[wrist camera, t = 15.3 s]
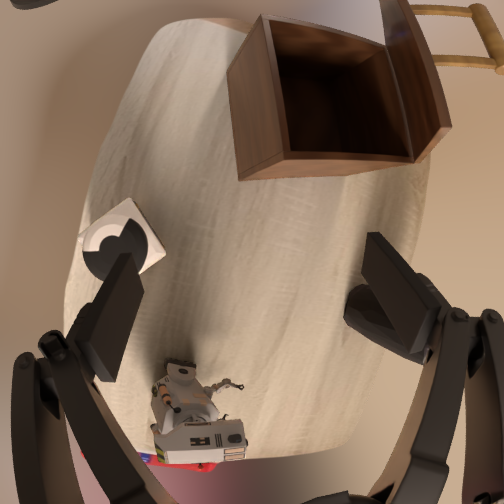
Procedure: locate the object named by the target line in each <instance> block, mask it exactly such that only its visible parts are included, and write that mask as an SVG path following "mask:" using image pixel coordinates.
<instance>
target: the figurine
mask: <svg viewBox="0 0 504 504" xmlns="http://www.w3.org/2000/svg"><path fill="white" fill-rule="evenodd" d="M164 366H165V368H166V369H167V372H168V375H166V376H165V377H163V378H162V379H160V380H159V381H157V382H155V386H154V385H153V388H152V393H153V396H152V401H151V407H152V410H153V412H154V415H155V418H156V421H157V424H152V425H151V426H150V427H151V430H152V431H153V434H154V443H155V448H156V452H157V457H158V461H159V462H162V463H165V464H187V463H191V464H199V466H198V469H199V470H202V469H203V468H204V467H203V466H202V465H201V463H209V462H220V461H230V460H239V459H246V447H247V446H248V441H247V439H245V433H244V427H243V422H242V421H241V420H240V419H235V420H231V419H230V420H225V417H226V415H227V414H225V415H224V417H223V418H222V419H218V416H219V413H220V412H219V411H218V409H217V408H216V406H215V405H214V403H213V402H212V401H211V398H212V393H213V392H215V391H216V393H220V392H221V390H222V389H224V388H229V387H234V388H235V387H236V388H239V389H240V390H243V388H244V386H243V384H242V385H235V384H234V383H231V380H230V379H228V378H226V379H223V380H222V382H220V383H218V384H217V385H216V384H213V385H212V386H211V387H208V386H206V387H204V388H203V387H202V386H201V384H200V383H199V382H198V381H197V379H196V378H195V375H196V364H194V363H191V362H190V363H188V362H186V361H184V362H183V361H179V360H173V359H168V358H166V361H165V365H164ZM241 386H243V388H240V387H241ZM217 419H218V420H217Z"/></svg>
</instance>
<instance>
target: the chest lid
mask: <svg viewBox="0 0 504 504" xmlns="http://www.w3.org/2000/svg"><path fill="white" fill-rule="evenodd" d="M379 1H380V7H381V13H382V20H383V27H384V35H385V43H386V48H387V50H388V53H389V56H390V60H391V63H392V66H393V69H394V73H395V76H396V80H397V83H398V87H399V91H400V94H401V98H402V103H403V107H404V111H405V116H406V120H407V125H408V130H409V135H410V141H411V147H412V153H413V159H414V163H420V162H421V161H422V160H423V159H424V158H425V157H426V156H427V155H428V154H429V153H430V152H431V150H432V149H433V148H434V147H435V146H436V145H437V144H438V143H439V142H440V140H441V139H442V138H443V137H444V136H445V135H446V134H447V133H448V132H449V130H450V129H451V128H452V124H451V119H450V115H449V111H448V107H447V103H446V99H445V96H444V92H443V88H442V85H441V82H440V79H439V76H438V72H437V69H436V66H460V67H476V68H477V67H478V68H488V69H494V70H495V72H496V73H497V74H499V75H504V40H503V38H502V36H501V34H500V32H499V30H498V28H497V26H496V24H495V22H494V20H493V18H492V17H491V15H490V13H489V11H488V9H487V8H486V7H485V6H484V5H482V4H477V3H476V4H472V5H470V6H469V7H468V8H466V7H456V6H444V5H410V4H409V3H408V1H407V0H379ZM415 15H449V16H461V17H471V18H472V20H473V22H474V24H475V26H476V28H477V30H478V32H479V34H480V36H481V39H482V41H483V43H484V45H485V47H486V50H487V52H488V55H489V57H490V58H485V57H475V56H460V55H431V52H430V50H429V47H428V45H427V42H426V40H425V37H424V35H423V32H422V30H421V28H420V25H419V23H418V21H417V19H416V17H415Z"/></svg>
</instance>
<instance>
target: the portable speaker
mask: <svg viewBox="0 0 504 504" xmlns="http://www.w3.org/2000/svg"><path fill="white" fill-rule="evenodd" d="M349 294H350V298H349V301H348V303H347V308H346V313H345V315H344V317H343V318H344V319H345V321H346V323H347V325H348V326H350V327H352V328H353V329H355V330H356V331H358V332H359V333H361V334H362V335H364V336H365V337H367V338H368V339H370V340H371V341H373V342H375V343H377V344H379V345H380V346H382V347H384V348H386V349H388V350H390V351H392V352H394V353H396V354H398V355H400V356H402V357H403V358H405V359H408V360H411V361H413V362H416V363H418V364H421V365H424V363H425V362H424V363H422V361H423V359H424V357H425V356H426V354H427V352H428V350H429V348H430V347H429V345H428V344H427V342H426V343H425V345H424V347H423V349H422V351H419V352H416V353H412V354H408V352H407V350H406V348H405V346H404V345H403V343H402V341H401V339H400V337H399V336H398V334H397V332H396V330H395V328H394V327H393V325H392V323H391V321H390V320H389V318H388V316H387V315H386V313H385V311H384V309H383V308H382V306H381V304H380V303H379V301H378V299H377V298H376V296H375V294H374V293H373V291H372V290H371V288H370V286H369V285H366V284H361V285H359V286H356V287H354V289H353V290H352V291H351V292H350V293H349Z"/></svg>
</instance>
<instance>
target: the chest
mask: <svg viewBox="0 0 504 504" xmlns="http://www.w3.org/2000/svg"><path fill="white" fill-rule="evenodd" d="M226 73H227V82H228V91H229V100H230V109H231V118H232V127H233V136H234V145H235V154H236V163H237V172H238V181H248V180H261V179H276V178H294V177H319V176H348V175H353V174H358V173H363V172H369V171H374V170H380V169H386V168H391V167H397V166H403V165H409V164H414V159H413V153H412V147H411V141H410V135H409V130H408V125H407V120H406V116H405V111H404V107H403V103H402V98H401V94H400V91H399V87H398V83H397V80H396V76H395V73H394V69H393V66H392V63H391V60H390V57H389V53H388V51H387V48H386V46H385V45H382V44H379V43H377V42H374V41H371V40H369V39H366V38H363V37H360V36H357V35H354V34H351V33H347V32H344V31H341V30H337V29H334V28H330V27H326V26H322V25H318V24H314V23H310V22H305V21H300V20H295V19H290V18H285V17H279V16H272V15H265V14H260V16H259V17H258V19H257V20H256V22H255V24H254V25H253V27H252V28H251V30H250V32H249V33H248V35H247V37H246V38H245V40H244V42H243V43H242V45H241V47H240V49H239V50H238V52H237V54H236V56H235V57H234V59H233V61H232V63H231V64H230V66H229V68H228V70H227V72H226Z"/></svg>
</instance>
